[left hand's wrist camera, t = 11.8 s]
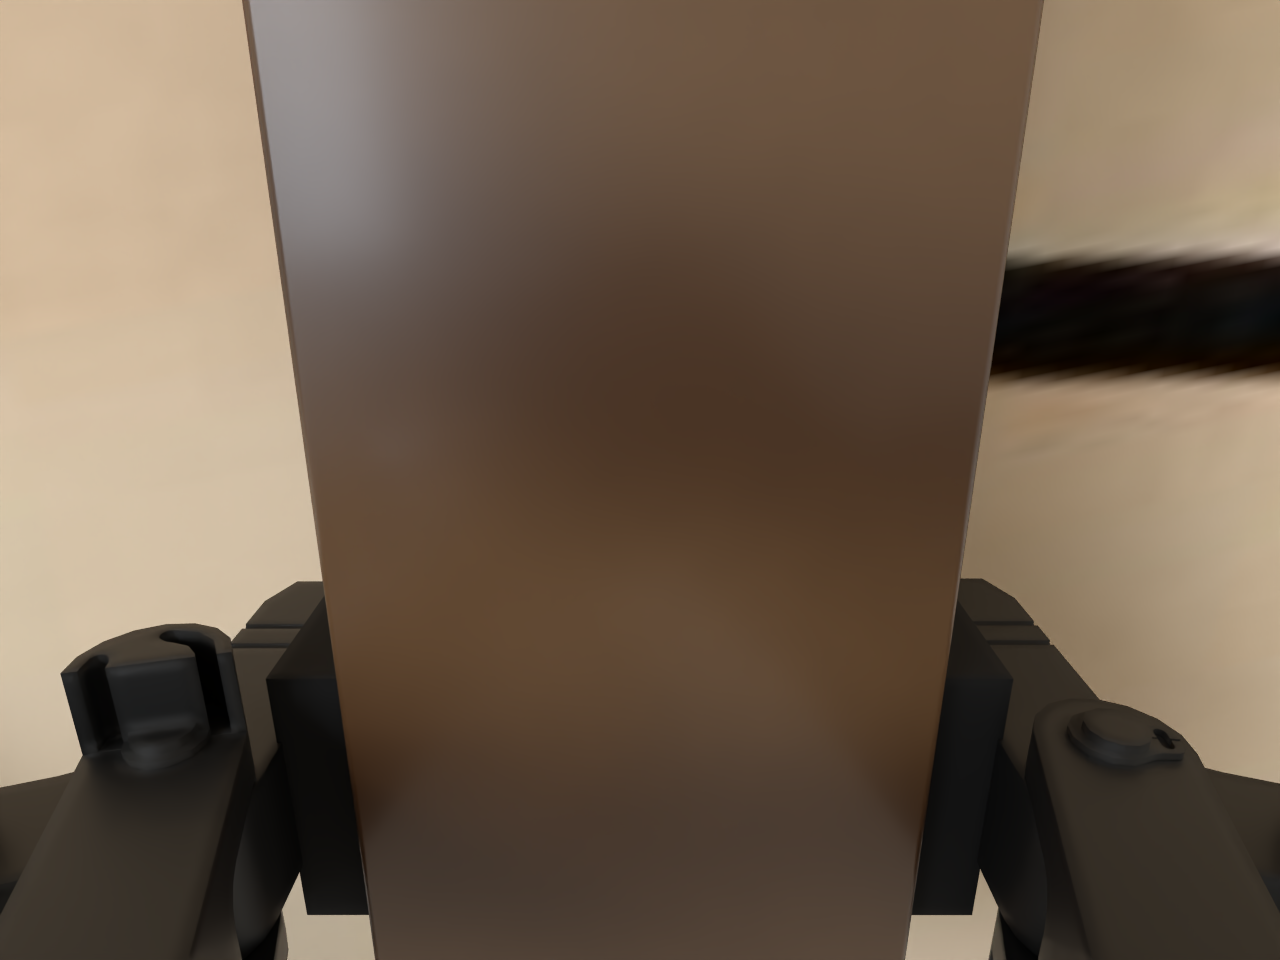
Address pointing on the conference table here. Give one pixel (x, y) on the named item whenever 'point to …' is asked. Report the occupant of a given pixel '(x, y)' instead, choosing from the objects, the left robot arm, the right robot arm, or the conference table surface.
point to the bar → (641, 447)
